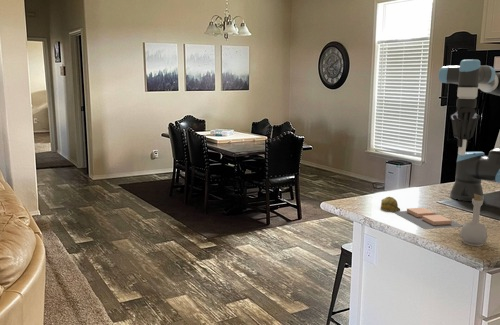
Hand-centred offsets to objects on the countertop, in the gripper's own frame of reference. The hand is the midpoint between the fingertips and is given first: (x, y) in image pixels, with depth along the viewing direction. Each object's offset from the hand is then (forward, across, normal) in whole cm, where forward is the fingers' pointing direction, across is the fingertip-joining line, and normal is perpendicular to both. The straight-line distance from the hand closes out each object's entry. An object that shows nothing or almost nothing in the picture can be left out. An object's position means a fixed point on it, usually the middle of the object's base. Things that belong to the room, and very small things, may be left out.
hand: (461, 154), depth 195 cm
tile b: (+25, +12, +9) cm, 29 cm away
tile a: (+25, +12, -2) cm, 28 cm away
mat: (+26, +17, +4) cm, 32 cm away
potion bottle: (+27, +17, +32) cm, 45 cm away
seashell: (+27, +24, -12) cm, 38 cm away
